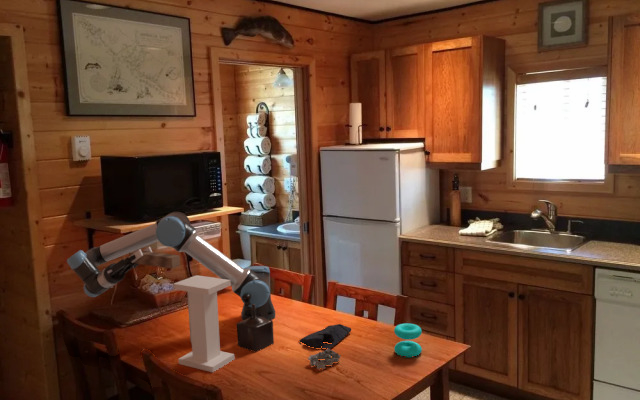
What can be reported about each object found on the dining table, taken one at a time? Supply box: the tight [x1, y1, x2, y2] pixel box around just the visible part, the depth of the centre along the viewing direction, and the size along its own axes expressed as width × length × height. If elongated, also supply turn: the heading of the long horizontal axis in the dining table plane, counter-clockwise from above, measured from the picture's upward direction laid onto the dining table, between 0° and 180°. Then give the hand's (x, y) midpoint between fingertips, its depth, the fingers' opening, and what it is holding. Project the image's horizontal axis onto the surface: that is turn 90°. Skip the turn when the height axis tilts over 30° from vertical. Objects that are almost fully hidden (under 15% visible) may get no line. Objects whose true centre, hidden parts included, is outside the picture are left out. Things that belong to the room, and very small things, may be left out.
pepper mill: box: [235, 294, 275, 353], centre depth 214 cm, size 16×11×18 cm
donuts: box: [393, 322, 423, 358], centre depth 201 cm, size 10×10×10 cm
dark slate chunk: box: [298, 323, 352, 350], centre depth 217 cm, size 15×22×5 cm
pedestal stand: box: [173, 274, 236, 373], centre depth 197 cm, size 16×12×30 cm
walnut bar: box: [128, 249, 181, 269], centre depth 206 cm, size 22×4×4 cm, turn 61°
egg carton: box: [307, 348, 342, 369], centre depth 194 cm, size 11×8×4 cm
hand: (146, 251), depth 207 cm, fingers closed on walnut bar, 4 cm apart
